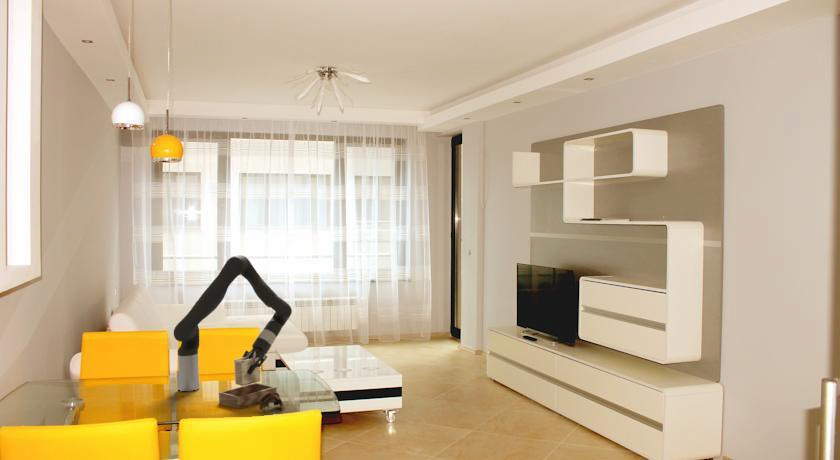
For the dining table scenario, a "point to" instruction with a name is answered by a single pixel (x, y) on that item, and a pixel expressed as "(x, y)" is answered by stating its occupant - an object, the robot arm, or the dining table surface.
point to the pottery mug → (270, 400)
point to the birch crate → (245, 371)
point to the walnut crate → (245, 395)
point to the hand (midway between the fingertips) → (244, 372)
